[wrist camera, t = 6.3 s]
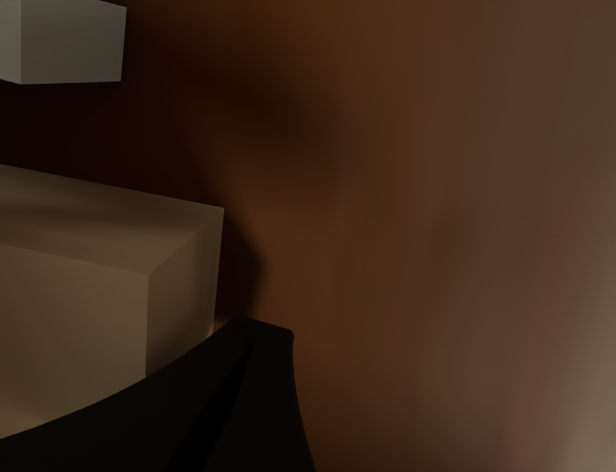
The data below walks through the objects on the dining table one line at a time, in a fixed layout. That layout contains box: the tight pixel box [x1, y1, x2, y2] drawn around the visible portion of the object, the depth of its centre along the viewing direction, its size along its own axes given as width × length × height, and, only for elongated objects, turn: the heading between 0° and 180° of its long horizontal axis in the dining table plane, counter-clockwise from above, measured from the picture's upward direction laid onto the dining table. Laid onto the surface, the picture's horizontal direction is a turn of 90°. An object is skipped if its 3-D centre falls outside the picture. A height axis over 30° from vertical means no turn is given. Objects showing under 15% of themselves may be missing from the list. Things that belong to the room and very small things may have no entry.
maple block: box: [0, 164, 224, 439], centre depth 10 cm, size 6×6×4 cm
